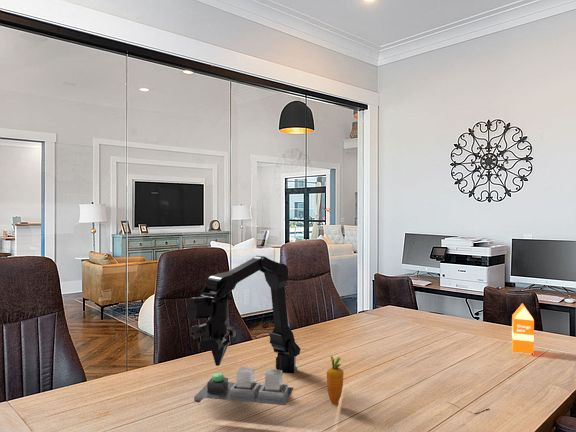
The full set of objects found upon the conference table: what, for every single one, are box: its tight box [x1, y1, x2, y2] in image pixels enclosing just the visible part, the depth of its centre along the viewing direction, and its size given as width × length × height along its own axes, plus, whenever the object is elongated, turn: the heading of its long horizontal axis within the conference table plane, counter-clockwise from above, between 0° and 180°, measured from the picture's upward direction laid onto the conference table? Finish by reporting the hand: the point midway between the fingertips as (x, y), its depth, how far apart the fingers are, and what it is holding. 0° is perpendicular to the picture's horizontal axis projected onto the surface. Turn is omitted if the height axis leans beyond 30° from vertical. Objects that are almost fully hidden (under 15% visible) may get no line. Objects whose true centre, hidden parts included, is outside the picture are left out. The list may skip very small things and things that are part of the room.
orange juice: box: [511, 302, 535, 354], centre depth 198 cm, size 8×9×20 cm
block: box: [264, 368, 283, 392], centre depth 145 cm, size 4×4×7 cm
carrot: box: [326, 355, 345, 405], centre depth 140 cm, size 5×5×15 cm
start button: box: [211, 372, 225, 382], centre depth 149 cm, size 4×4×2 cm
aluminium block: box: [236, 366, 255, 390], centre depth 147 cm, size 4×4×7 cm
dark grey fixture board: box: [193, 377, 294, 406], centre depth 147 cm, size 28×14×4 cm, turn 79°
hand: (217, 365), depth 149 cm, fingers closed
